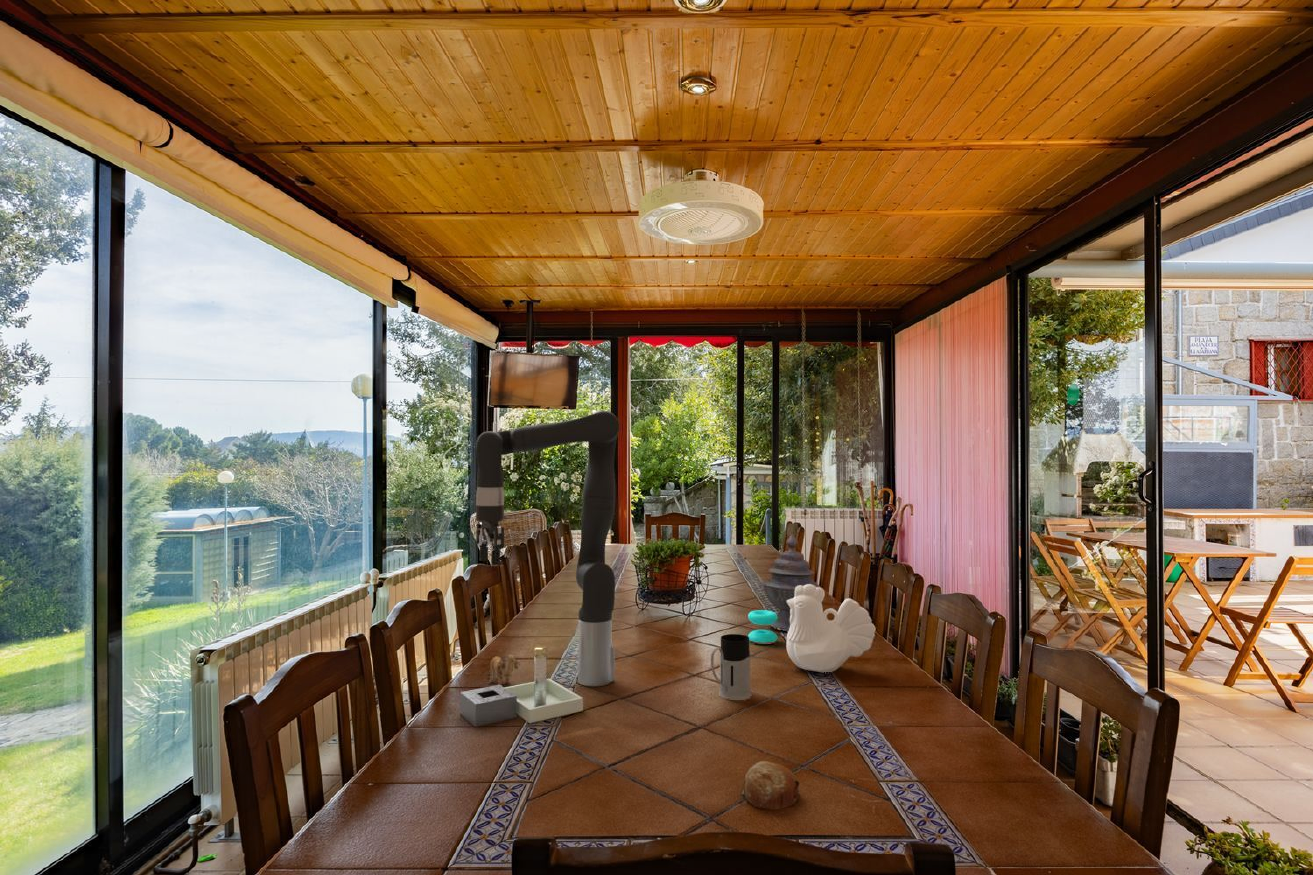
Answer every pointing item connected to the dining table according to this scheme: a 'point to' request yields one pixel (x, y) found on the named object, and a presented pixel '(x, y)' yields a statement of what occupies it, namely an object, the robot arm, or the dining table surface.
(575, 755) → the dining table surface
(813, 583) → the decorative urn
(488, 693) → the block
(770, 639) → the donuts
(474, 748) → the dining table surface
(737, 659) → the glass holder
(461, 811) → the dining table surface
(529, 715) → the tray
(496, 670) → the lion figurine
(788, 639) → the decorative rooster
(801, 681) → the dining table surface
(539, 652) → the steel pin
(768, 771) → the bread roll
